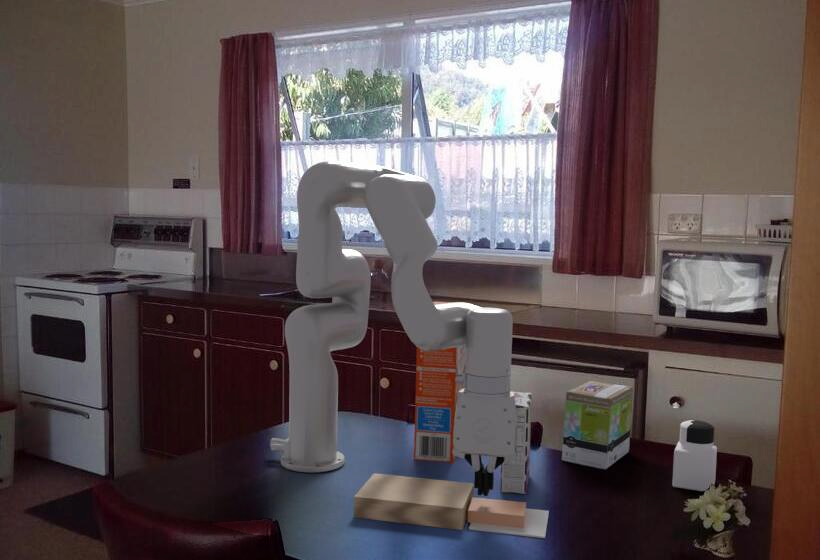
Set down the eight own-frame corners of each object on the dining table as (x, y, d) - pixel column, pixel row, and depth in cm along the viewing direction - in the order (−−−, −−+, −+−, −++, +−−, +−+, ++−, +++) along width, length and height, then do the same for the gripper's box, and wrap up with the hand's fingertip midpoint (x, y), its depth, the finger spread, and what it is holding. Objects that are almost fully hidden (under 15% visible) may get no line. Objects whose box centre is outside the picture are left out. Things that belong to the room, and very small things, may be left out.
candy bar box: (503, 473, 151) (506, 390, 150) (529, 475, 151) (532, 392, 149) (498, 493, 141) (501, 404, 139) (526, 495, 140) (530, 406, 138)
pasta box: (453, 462, 157) (457, 315, 155) (413, 459, 158) (417, 313, 156) (464, 432, 180) (468, 303, 177) (429, 429, 181) (433, 301, 178)
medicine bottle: (715, 482, 150) (718, 420, 149) (712, 493, 143) (716, 429, 142) (676, 475, 153) (679, 415, 152) (672, 487, 146) (675, 424, 145)
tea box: (608, 471, 155) (612, 398, 153) (560, 461, 160) (563, 390, 159) (630, 452, 167) (633, 384, 166) (585, 444, 173) (588, 378, 171)
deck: (353, 517, 128) (354, 496, 127) (373, 492, 139) (374, 473, 139) (462, 529, 124) (462, 508, 123) (473, 503, 135) (473, 483, 135)
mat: (468, 529, 124) (468, 527, 124) (478, 504, 135) (478, 503, 134) (545, 538, 121) (545, 536, 121) (548, 512, 132) (548, 510, 132)
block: (467, 522, 126) (468, 510, 126) (472, 508, 132) (472, 497, 132) (523, 528, 124) (524, 515, 124) (525, 514, 130) (526, 502, 130)
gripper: (437, 385, 125) (434, 496, 127) (531, 392, 122) (527, 506, 123) (446, 376, 132) (443, 481, 134) (535, 382, 129) (530, 490, 130)
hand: (483, 492), depth 128 cm, fingers closed
